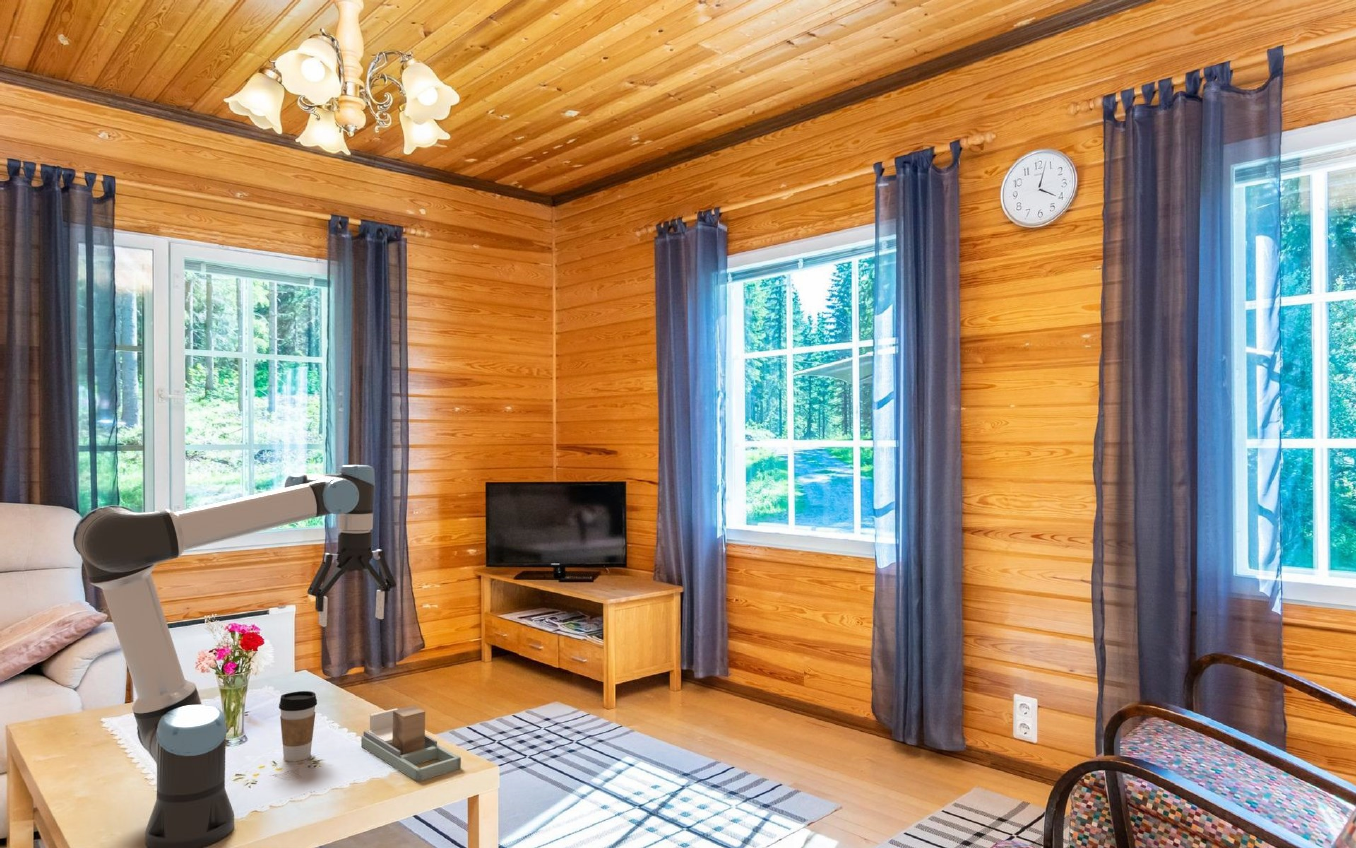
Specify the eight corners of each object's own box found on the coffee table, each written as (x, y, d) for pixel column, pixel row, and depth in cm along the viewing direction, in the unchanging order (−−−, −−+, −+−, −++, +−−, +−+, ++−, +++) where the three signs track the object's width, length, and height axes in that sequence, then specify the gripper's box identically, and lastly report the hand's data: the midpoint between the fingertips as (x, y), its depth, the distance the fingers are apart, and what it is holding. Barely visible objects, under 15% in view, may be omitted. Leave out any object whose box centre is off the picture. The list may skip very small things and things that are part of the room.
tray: (460, 768, 202) (460, 752, 202) (417, 781, 194) (417, 765, 194) (402, 735, 222) (403, 721, 222) (361, 746, 214) (361, 731, 214)
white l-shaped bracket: (415, 736, 214) (415, 717, 214) (384, 744, 208) (385, 724, 208) (398, 726, 220) (398, 707, 220) (367, 734, 215) (368, 715, 215)
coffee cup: (270, 759, 205) (271, 696, 205) (300, 747, 212) (301, 686, 212) (293, 766, 201) (294, 702, 201) (324, 754, 208) (325, 692, 208)
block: (424, 757, 208) (425, 711, 208) (403, 763, 204) (403, 716, 204) (413, 750, 212) (414, 705, 212) (392, 756, 208) (392, 710, 208)
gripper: (398, 526, 214) (394, 612, 214) (294, 532, 196) (290, 625, 196) (412, 530, 208) (408, 618, 208) (307, 535, 191) (303, 631, 191)
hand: (351, 621), depth 202 cm, fingers open, 13 cm apart
